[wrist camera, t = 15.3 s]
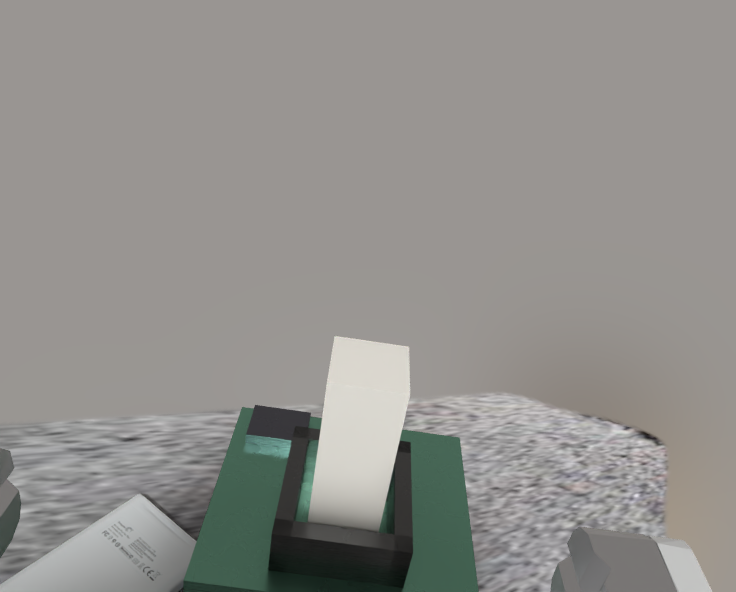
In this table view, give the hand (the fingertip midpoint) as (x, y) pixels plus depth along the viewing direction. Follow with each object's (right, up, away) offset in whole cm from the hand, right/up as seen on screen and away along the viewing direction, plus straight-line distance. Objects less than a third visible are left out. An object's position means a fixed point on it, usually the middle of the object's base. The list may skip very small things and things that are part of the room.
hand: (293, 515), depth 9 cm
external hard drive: (-17, -17, +32) cm, 40 cm away
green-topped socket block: (-2, -17, +34) cm, 38 cm away
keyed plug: (-1, -10, +28) cm, 30 cm away
